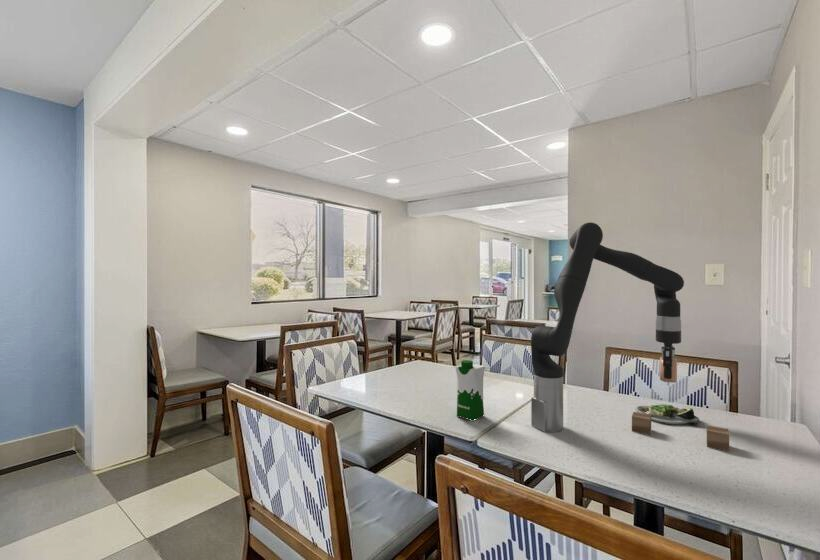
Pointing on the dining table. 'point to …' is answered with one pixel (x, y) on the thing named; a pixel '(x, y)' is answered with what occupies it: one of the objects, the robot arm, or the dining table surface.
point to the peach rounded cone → (674, 371)
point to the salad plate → (669, 414)
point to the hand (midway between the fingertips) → (668, 376)
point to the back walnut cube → (641, 423)
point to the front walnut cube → (717, 438)
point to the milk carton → (470, 390)
